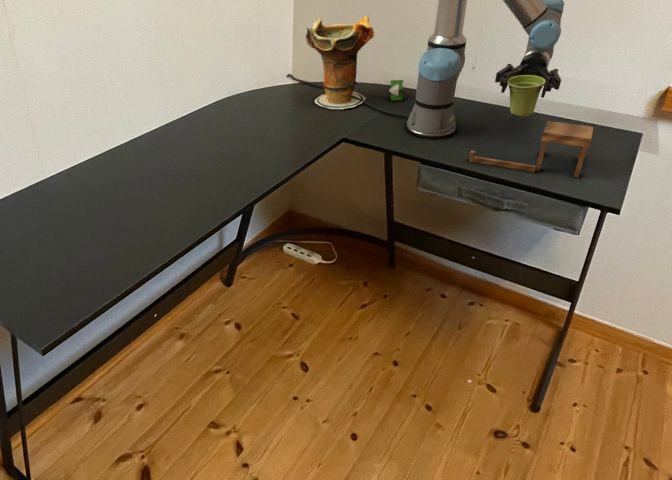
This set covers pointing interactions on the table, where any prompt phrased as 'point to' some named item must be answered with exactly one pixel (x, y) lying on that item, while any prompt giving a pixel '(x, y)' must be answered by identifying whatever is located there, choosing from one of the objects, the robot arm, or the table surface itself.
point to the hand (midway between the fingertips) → (523, 90)
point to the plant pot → (524, 93)
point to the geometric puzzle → (396, 90)
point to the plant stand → (552, 133)
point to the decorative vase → (339, 59)
